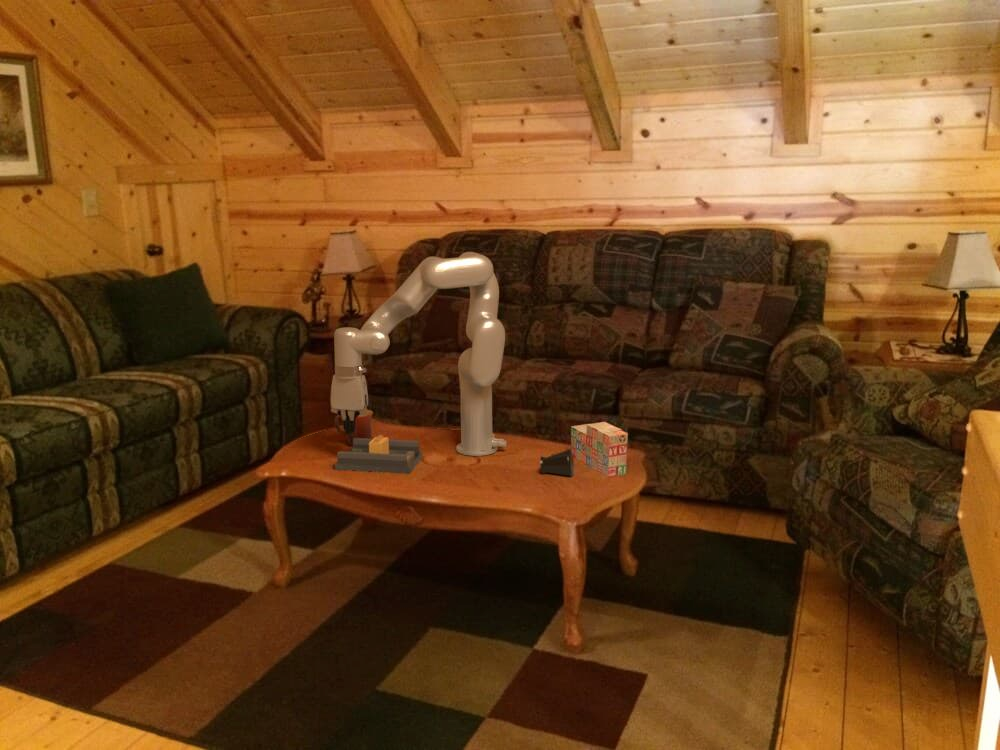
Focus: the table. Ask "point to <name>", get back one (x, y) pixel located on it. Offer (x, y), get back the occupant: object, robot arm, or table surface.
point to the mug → (358, 427)
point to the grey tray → (378, 454)
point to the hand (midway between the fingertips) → (349, 432)
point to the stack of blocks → (600, 447)
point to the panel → (411, 463)
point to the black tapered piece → (558, 463)
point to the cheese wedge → (379, 445)
